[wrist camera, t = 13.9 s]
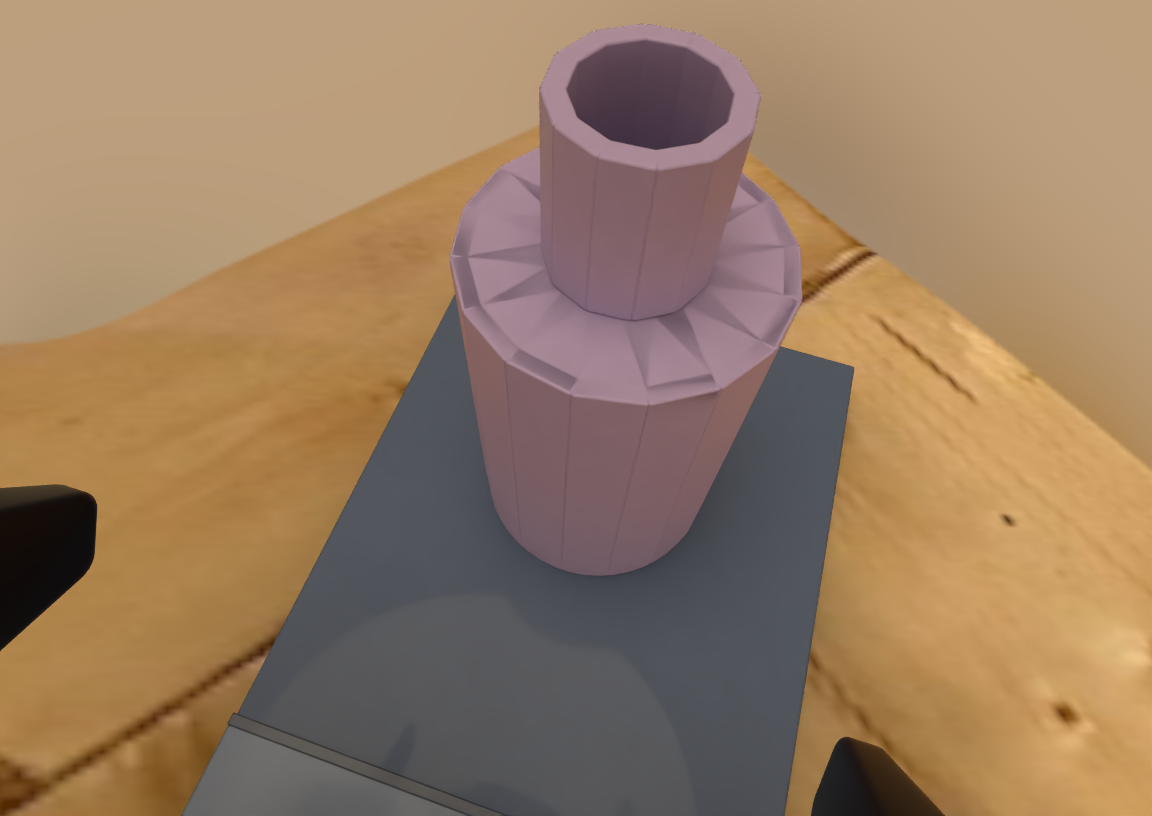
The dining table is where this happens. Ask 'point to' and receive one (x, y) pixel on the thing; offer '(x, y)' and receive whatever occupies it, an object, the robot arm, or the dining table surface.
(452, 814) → the grey stepped slab
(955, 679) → the dining table surface
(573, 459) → the vase
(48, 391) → the dining table surface
